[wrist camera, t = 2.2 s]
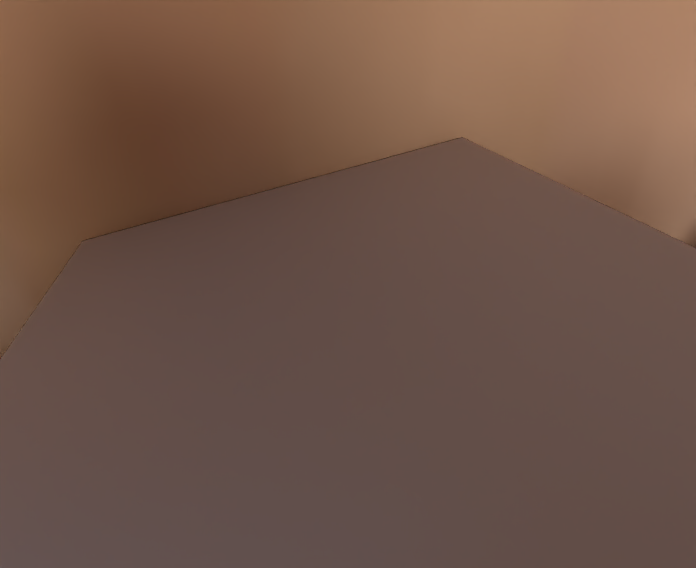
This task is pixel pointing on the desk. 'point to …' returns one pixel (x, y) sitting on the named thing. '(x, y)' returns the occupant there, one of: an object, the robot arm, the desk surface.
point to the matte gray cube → (361, 382)
